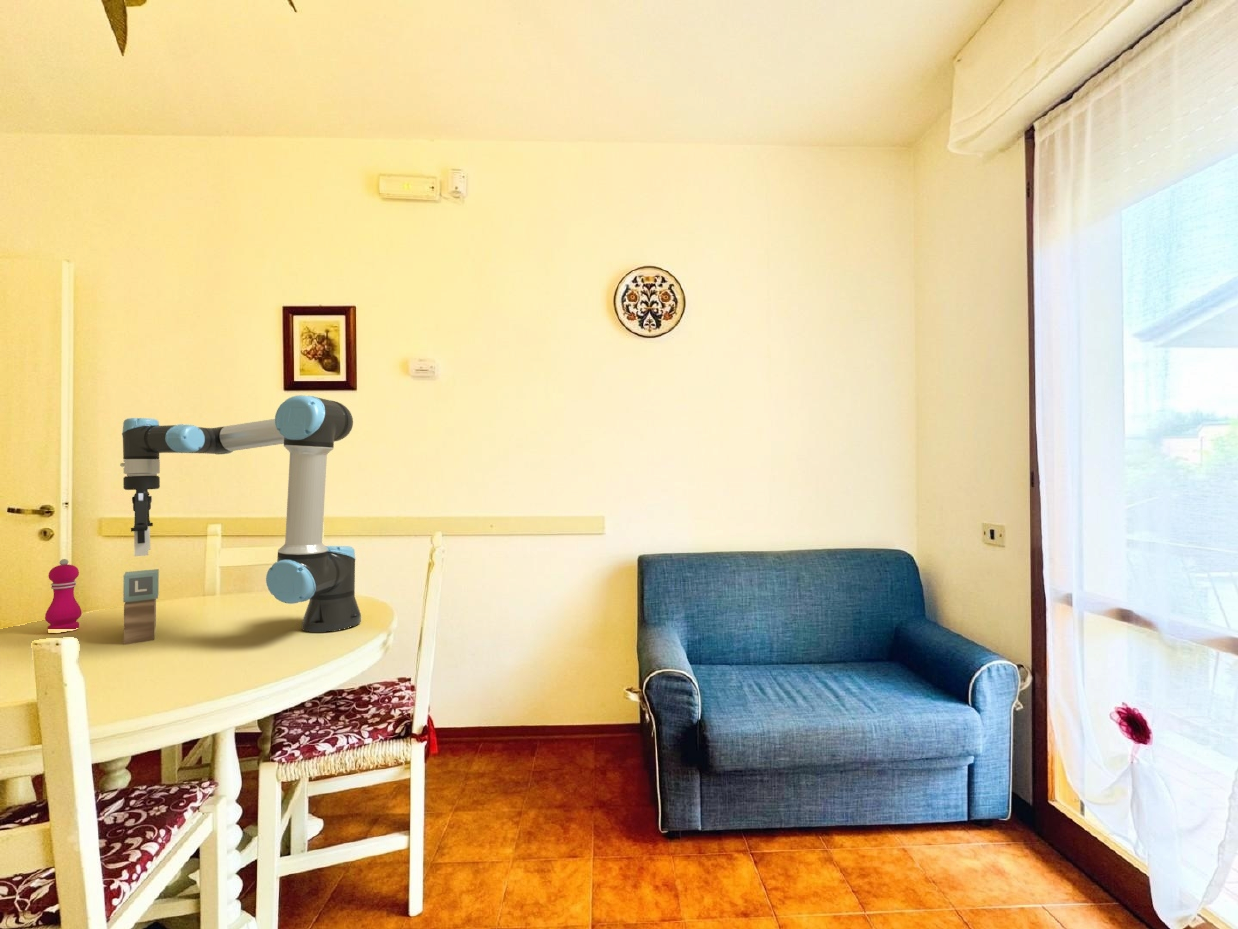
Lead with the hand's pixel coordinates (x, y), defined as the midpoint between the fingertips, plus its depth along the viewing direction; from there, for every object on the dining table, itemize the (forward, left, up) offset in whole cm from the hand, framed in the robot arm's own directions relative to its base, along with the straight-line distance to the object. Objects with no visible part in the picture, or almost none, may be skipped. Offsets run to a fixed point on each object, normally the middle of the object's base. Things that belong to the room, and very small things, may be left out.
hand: (142, 553), depth 151 cm
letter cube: (0, 0, -12) cm, 12 cm away
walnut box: (0, 0, -22) cm, 22 cm away
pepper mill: (+18, +17, -23) cm, 34 cm away
